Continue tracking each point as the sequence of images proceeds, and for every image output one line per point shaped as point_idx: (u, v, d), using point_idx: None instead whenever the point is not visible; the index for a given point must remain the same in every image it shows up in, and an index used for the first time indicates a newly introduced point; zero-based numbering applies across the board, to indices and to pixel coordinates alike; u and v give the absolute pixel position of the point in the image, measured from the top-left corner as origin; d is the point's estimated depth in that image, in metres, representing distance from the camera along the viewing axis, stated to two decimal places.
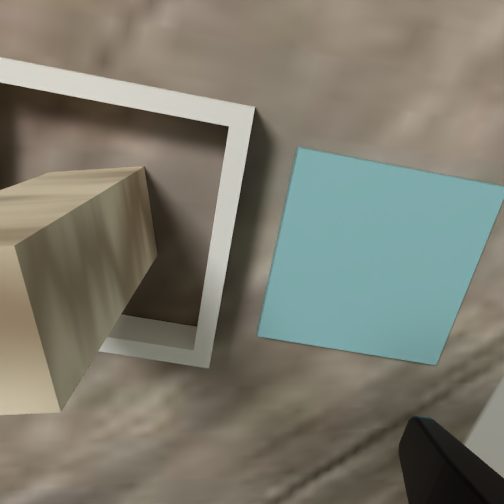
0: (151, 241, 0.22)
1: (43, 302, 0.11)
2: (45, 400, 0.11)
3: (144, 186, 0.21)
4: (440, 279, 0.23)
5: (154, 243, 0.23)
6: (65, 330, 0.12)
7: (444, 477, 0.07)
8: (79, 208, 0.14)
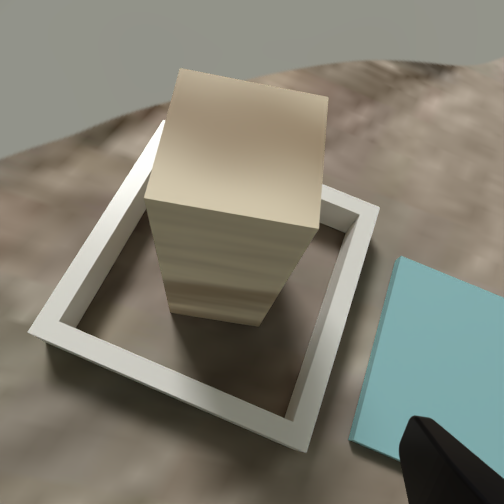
0: None
1: None
2: (308, 214, 0.12)
3: None
4: None
5: None
6: None
7: (444, 477, 0.07)
8: None
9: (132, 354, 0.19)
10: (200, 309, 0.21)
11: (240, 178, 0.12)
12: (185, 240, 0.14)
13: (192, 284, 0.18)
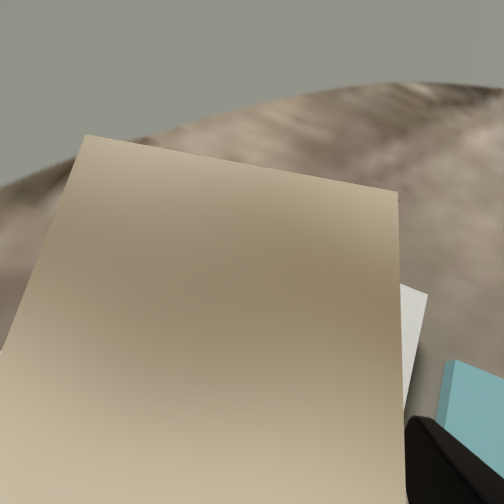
0: None
1: None
2: None
3: None
4: None
5: None
6: None
7: (444, 477, 0.07)
8: None
9: None
10: None
11: (207, 423, 0.05)
12: None
13: None
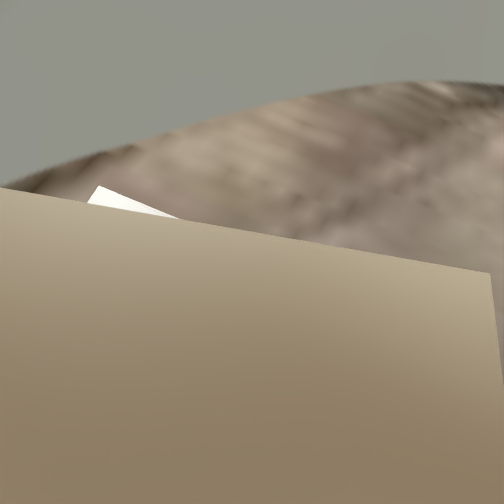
0: None
1: None
2: None
3: None
4: None
5: None
6: None
7: None
8: None
9: None
10: None
11: None
12: None
13: None
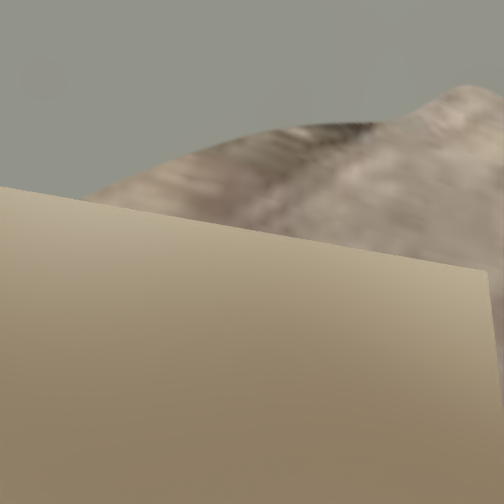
0: None
1: None
2: None
3: None
4: None
5: None
6: None
7: None
8: None
9: None
10: None
11: None
12: None
13: None
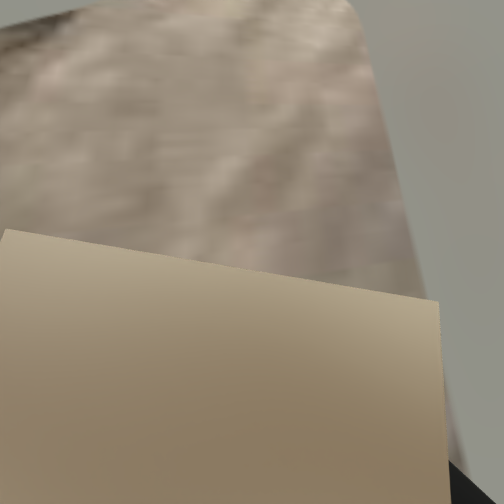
0: None
1: None
2: None
3: None
4: None
5: None
6: None
7: None
8: None
9: None
10: None
11: None
12: None
13: None
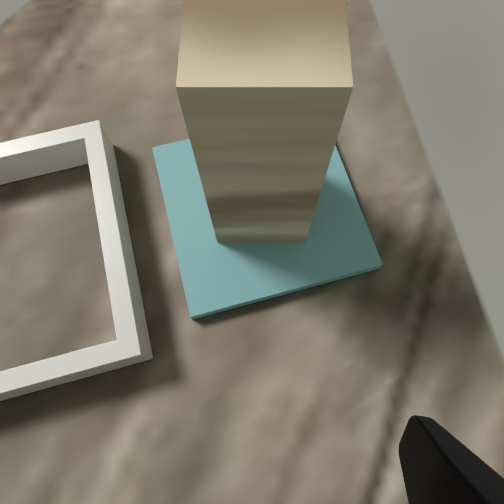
0: None
1: None
2: (339, 75, 0.12)
3: None
4: (323, 187, 0.24)
5: None
6: None
7: (444, 477, 0.07)
8: None
9: None
10: (245, 230, 0.22)
11: (266, 54, 0.12)
12: (221, 136, 0.14)
13: (234, 198, 0.18)
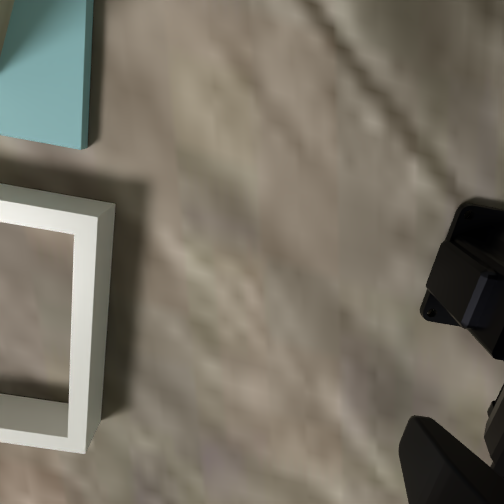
0: None
1: None
2: None
3: None
4: None
5: None
6: None
7: (444, 477, 0.07)
8: None
9: (70, 380, 0.21)
10: None
11: None
12: None
13: None
